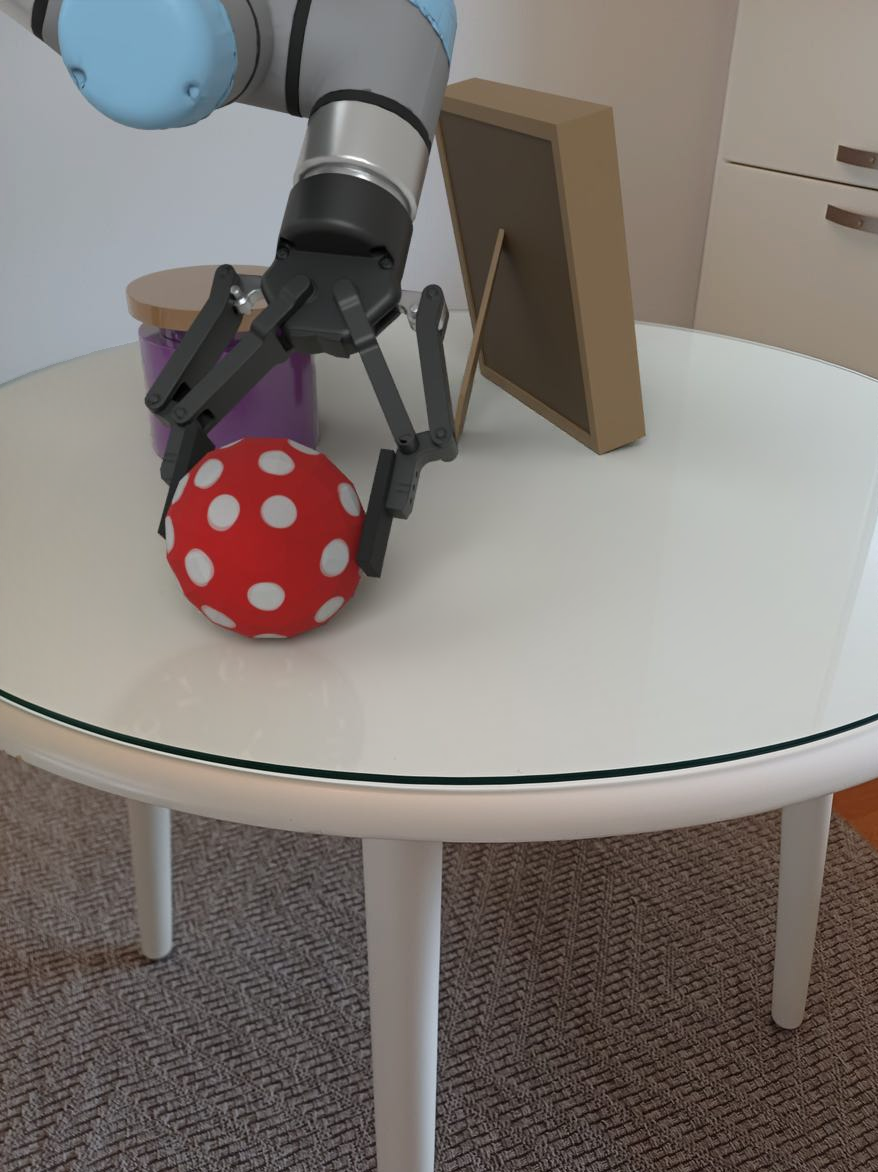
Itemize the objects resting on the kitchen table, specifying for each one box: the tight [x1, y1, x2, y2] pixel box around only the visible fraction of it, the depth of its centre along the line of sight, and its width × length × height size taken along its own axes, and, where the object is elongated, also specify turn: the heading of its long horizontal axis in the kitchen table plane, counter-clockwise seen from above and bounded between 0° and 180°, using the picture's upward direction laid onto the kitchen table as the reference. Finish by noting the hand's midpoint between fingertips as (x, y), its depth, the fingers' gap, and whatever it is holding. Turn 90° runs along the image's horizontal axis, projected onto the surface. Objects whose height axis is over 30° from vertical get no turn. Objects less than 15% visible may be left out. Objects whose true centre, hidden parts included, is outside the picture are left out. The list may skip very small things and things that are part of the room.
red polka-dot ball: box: [165, 438, 366, 639], centre depth 64 cm, size 11×11×15 cm
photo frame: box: [434, 77, 647, 456], centre depth 89 cm, size 15×22×25 cm
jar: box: [125, 264, 321, 459], centre depth 86 cm, size 14×14×12 cm
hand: (269, 555), depth 62 cm, fingers closed on red polka-dot ball, 11 cm apart
